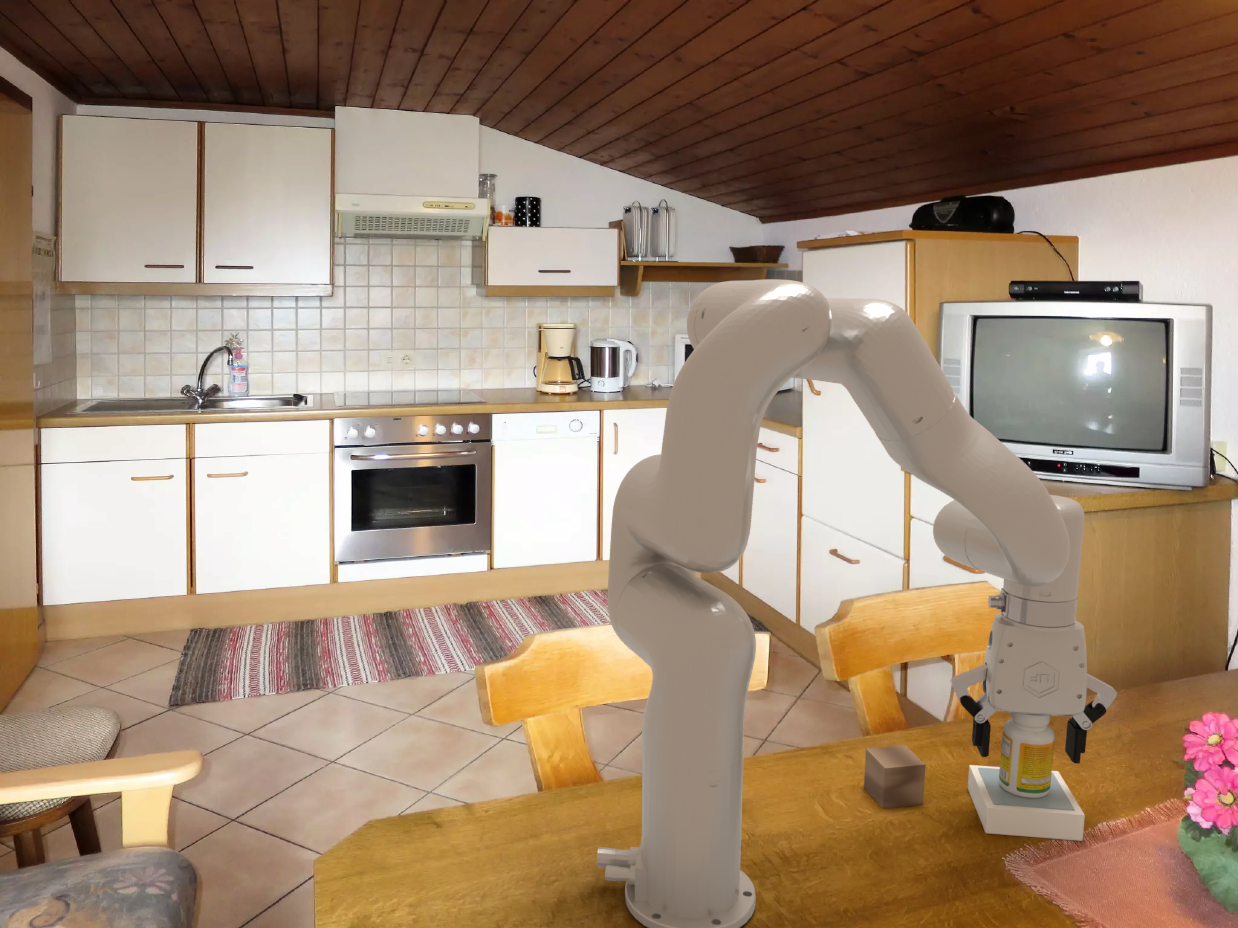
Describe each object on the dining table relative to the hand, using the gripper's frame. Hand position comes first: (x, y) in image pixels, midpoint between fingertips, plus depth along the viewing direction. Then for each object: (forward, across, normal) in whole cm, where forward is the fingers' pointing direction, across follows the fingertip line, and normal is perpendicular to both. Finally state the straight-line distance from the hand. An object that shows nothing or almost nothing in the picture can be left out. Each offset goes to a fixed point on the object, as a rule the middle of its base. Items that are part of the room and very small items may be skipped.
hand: (1026, 754), depth 111 cm
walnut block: (+7, -14, +2) cm, 16 cm away
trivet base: (+7, 0, 0) cm, 7 cm away
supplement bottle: (+4, 0, 0) cm, 4 cm away
